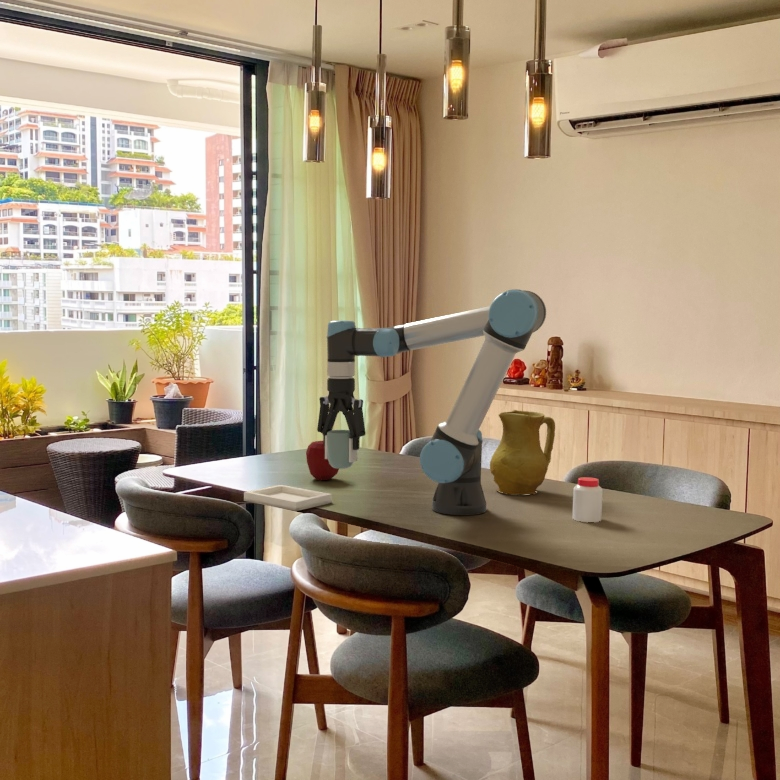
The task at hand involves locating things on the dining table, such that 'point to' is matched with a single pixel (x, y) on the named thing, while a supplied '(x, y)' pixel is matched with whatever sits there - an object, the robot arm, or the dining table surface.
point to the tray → (288, 497)
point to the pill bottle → (587, 500)
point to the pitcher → (522, 452)
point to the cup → (338, 448)
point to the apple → (319, 462)
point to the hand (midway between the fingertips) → (341, 459)
